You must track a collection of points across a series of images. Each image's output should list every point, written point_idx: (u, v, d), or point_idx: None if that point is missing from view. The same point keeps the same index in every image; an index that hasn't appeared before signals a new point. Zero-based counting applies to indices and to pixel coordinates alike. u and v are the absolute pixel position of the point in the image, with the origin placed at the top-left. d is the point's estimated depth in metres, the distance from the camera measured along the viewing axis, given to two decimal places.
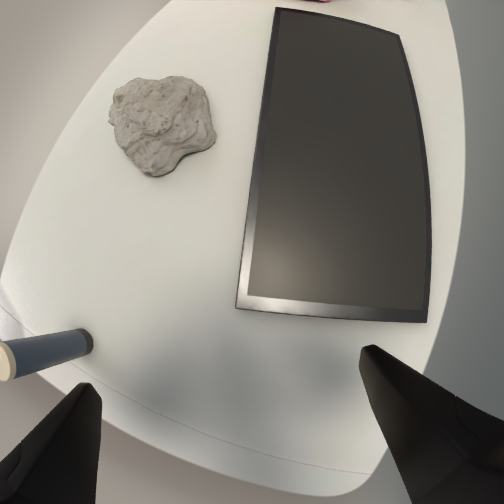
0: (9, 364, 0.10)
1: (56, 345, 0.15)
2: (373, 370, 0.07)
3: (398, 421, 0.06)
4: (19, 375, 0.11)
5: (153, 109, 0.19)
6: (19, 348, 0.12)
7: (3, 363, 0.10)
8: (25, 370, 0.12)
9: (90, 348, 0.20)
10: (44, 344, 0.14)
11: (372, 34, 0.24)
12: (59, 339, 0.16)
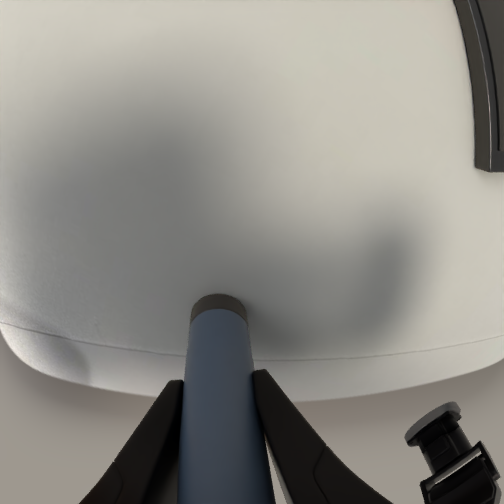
0: None
1: (251, 405, 0.07)
2: (255, 397, 0.07)
3: (272, 455, 0.06)
4: None
5: None
6: None
7: None
8: None
9: None
10: (247, 441, 0.06)
11: None
12: (236, 381, 0.07)
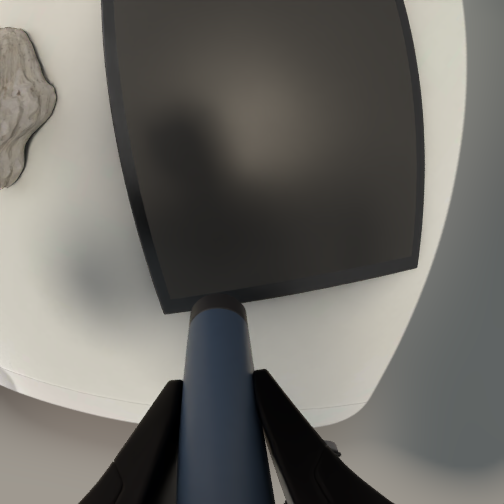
0: None
1: (250, 405, 0.07)
2: None
3: (272, 455, 0.06)
4: None
5: None
6: None
7: None
8: None
9: None
10: (247, 441, 0.06)
11: None
12: (235, 381, 0.07)
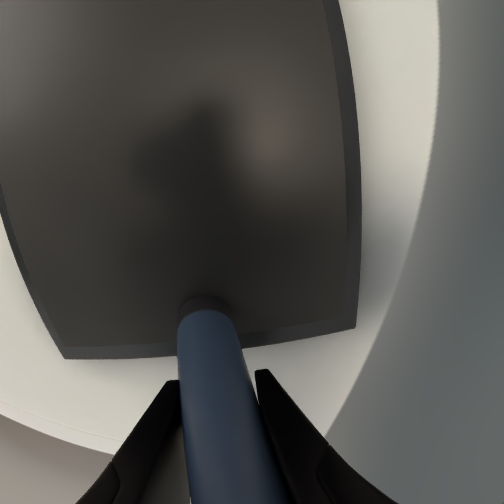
0: None
1: (253, 401, 0.07)
2: None
3: None
4: None
5: None
6: None
7: None
8: None
9: None
10: (256, 434, 0.06)
11: None
12: (235, 378, 0.07)
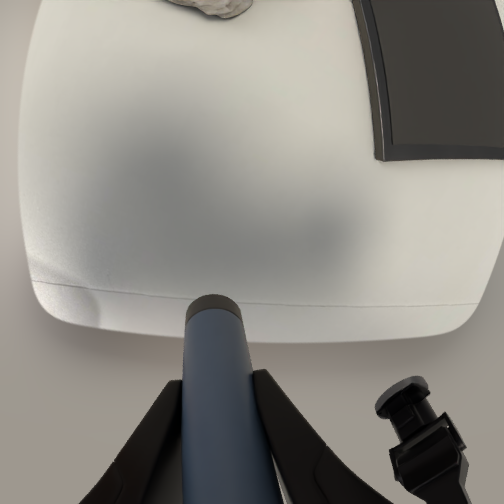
0: None
1: (254, 404, 0.07)
2: None
3: (272, 456, 0.06)
4: None
5: None
6: None
7: None
8: None
9: None
10: (254, 438, 0.06)
11: None
12: (238, 379, 0.07)
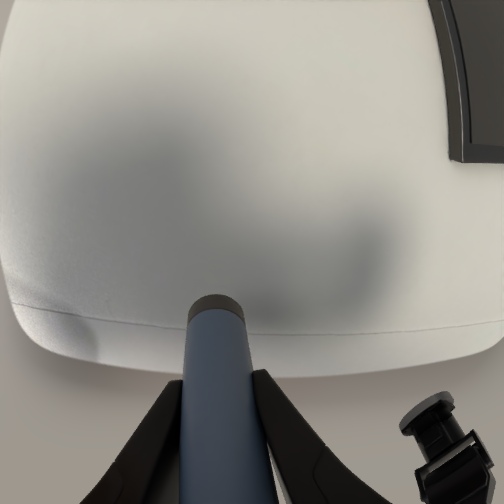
0: None
1: (253, 405, 0.07)
2: None
3: (271, 456, 0.06)
4: None
5: None
6: None
7: None
8: None
9: None
10: (252, 441, 0.06)
11: None
12: (238, 381, 0.07)
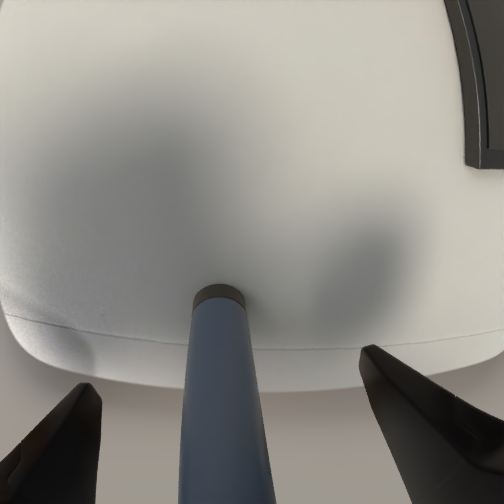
0: None
1: (251, 386, 0.07)
2: (373, 370, 0.07)
3: (398, 421, 0.06)
4: None
5: None
6: None
7: None
8: None
9: None
10: (248, 417, 0.06)
11: None
12: (238, 363, 0.08)
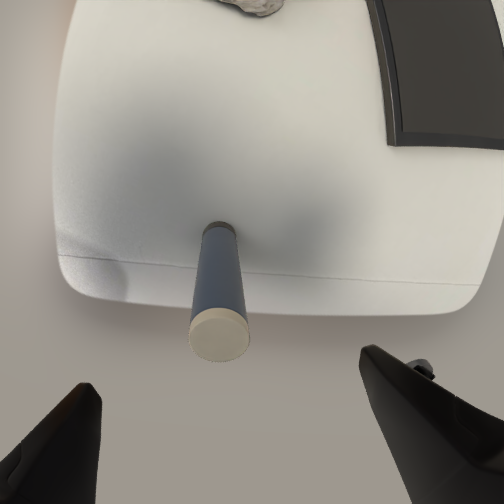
0: (248, 333, 0.10)
1: (236, 261, 0.14)
2: (373, 370, 0.07)
3: (398, 421, 0.06)
4: None
5: None
6: (234, 299, 0.11)
7: (233, 338, 0.10)
8: None
9: None
10: (233, 269, 0.13)
11: None
12: (229, 250, 0.15)
